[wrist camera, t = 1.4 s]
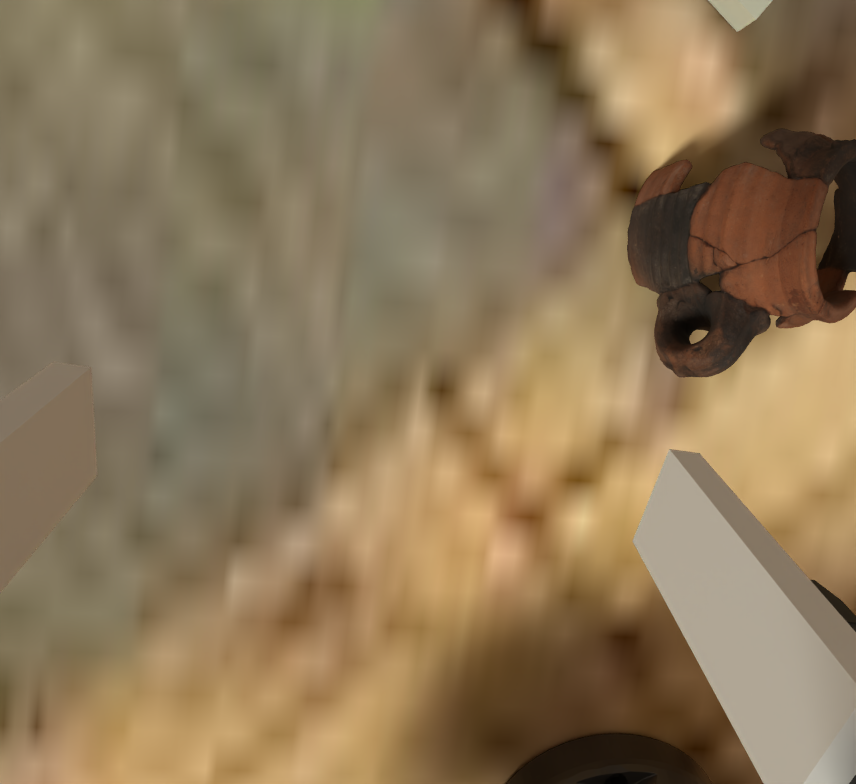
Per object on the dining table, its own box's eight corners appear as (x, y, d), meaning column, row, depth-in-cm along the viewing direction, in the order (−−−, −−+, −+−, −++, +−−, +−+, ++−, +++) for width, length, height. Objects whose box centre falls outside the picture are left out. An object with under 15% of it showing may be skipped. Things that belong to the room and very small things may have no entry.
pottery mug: (663, 105, 29) (856, 60, 22) (744, 214, 34) (920, 204, 28) (562, 329, 28) (732, 353, 21) (663, 404, 34) (823, 442, 27)
